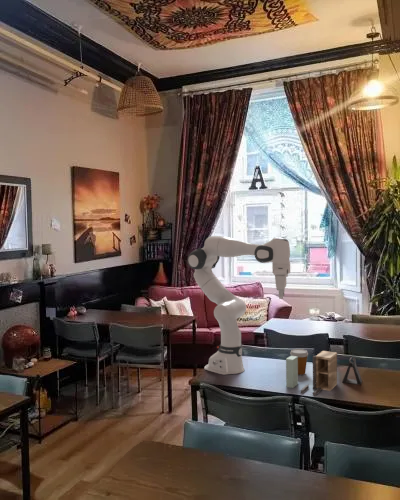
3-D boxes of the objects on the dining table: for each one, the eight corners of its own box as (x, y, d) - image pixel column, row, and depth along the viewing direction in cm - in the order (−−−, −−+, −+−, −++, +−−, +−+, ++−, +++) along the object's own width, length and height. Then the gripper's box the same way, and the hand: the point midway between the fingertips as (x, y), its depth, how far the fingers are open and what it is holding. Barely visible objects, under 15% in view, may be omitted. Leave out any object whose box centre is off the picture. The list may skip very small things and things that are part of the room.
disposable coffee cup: (308, 376, 239) (308, 353, 238) (290, 375, 241) (290, 353, 240) (308, 370, 248) (307, 349, 248) (290, 369, 250) (290, 348, 250)
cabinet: (300, 393, 215) (300, 359, 214) (315, 380, 232) (315, 349, 231) (323, 397, 209) (323, 363, 208) (337, 384, 226) (336, 352, 225)
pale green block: (286, 386, 224) (286, 358, 223) (291, 382, 230) (291, 355, 229) (293, 388, 222) (292, 359, 221) (298, 383, 228) (297, 356, 227)
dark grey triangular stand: (342, 382, 228) (342, 359, 228) (343, 379, 234) (343, 356, 233) (361, 385, 225) (361, 361, 224) (362, 381, 230) (362, 357, 229)
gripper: (276, 268, 238) (277, 294, 238) (273, 271, 218) (273, 300, 219) (288, 268, 236) (289, 294, 237) (286, 271, 217) (287, 300, 217)
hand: (281, 297), depth 228 cm, fingers open, 8 cm apart
